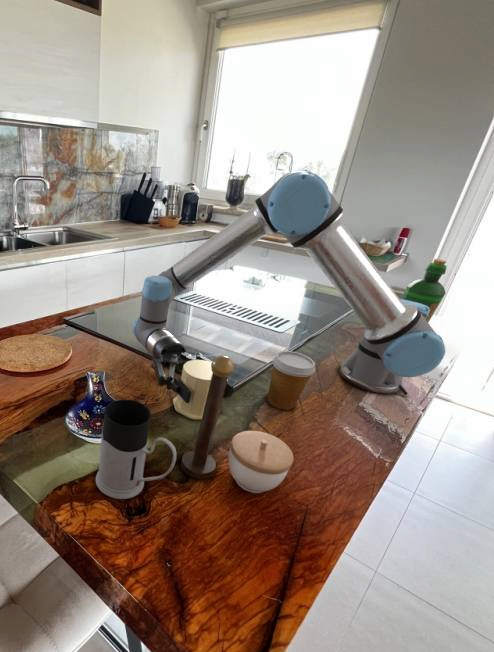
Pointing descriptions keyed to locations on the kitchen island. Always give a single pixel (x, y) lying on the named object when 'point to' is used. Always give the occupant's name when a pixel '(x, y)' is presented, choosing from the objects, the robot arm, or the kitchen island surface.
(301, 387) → the disposable coffee cup
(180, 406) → the hat
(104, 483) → the glass holder
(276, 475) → the trinket box
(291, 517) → the kitchen island surface
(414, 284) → the bottle
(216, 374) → the stand
